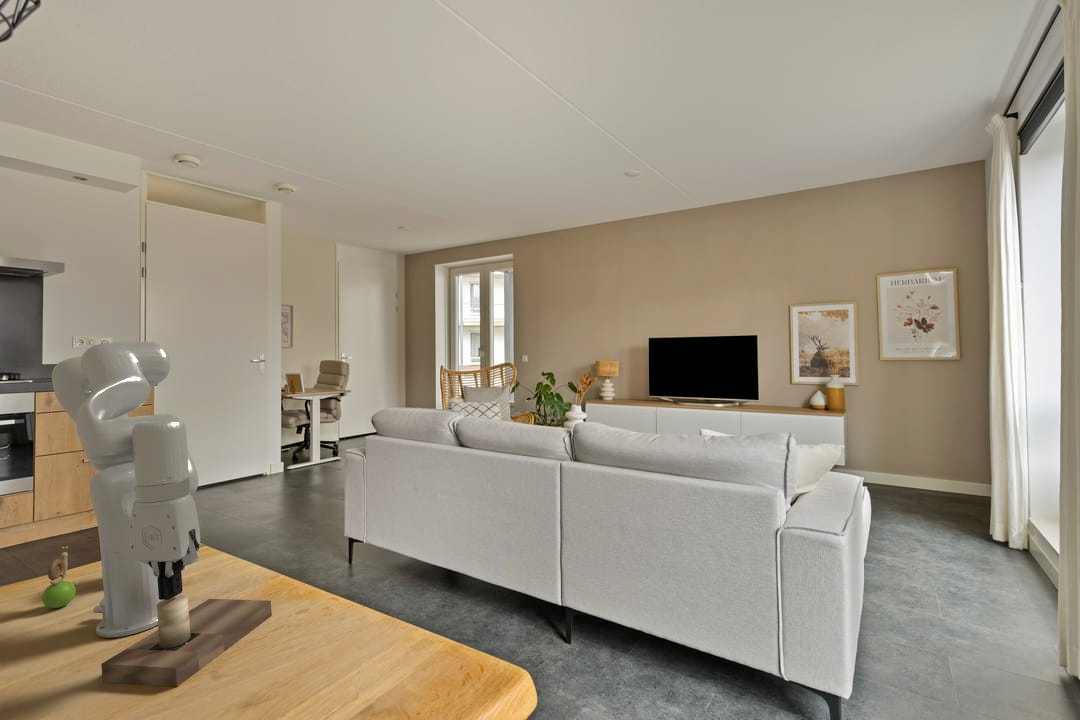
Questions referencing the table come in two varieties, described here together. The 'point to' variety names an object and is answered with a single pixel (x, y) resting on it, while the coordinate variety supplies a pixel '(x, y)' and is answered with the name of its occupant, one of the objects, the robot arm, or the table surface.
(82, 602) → the table surface
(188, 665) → the walnut board
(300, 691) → the table surface
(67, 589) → the snail figurine
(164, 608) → the beech leg
